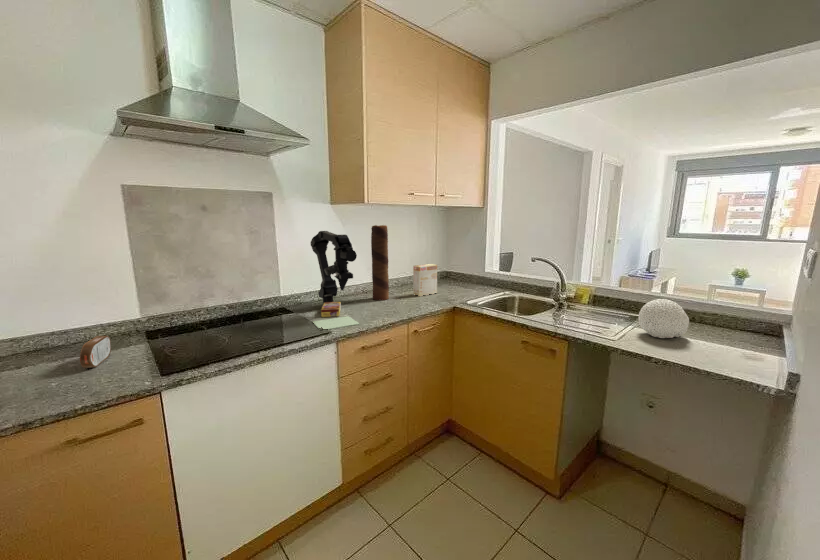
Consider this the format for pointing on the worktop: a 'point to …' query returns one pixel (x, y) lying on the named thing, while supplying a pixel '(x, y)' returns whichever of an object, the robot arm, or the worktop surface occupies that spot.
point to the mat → (336, 323)
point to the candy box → (331, 309)
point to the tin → (95, 351)
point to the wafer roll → (380, 262)
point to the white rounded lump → (663, 319)
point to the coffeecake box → (424, 279)
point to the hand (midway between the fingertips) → (342, 290)
